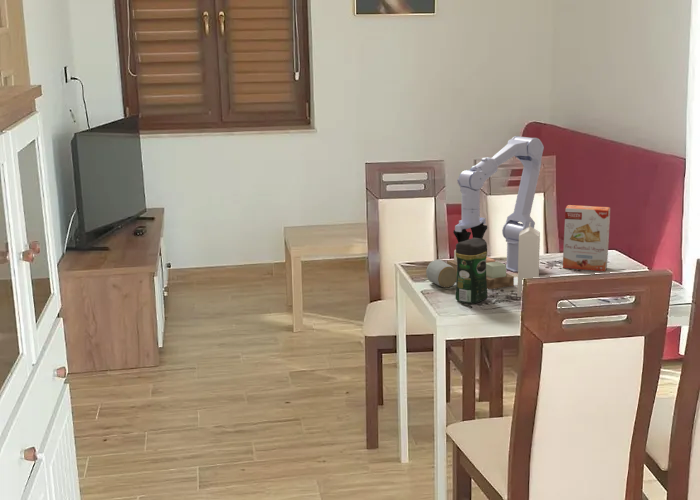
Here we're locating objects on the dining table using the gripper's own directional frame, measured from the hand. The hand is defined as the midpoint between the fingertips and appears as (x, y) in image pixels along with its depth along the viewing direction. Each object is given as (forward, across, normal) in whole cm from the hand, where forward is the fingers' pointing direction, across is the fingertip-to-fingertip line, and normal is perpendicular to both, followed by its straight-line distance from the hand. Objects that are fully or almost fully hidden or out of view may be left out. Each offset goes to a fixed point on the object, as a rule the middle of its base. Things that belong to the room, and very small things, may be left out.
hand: (470, 249), depth 275 cm
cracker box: (+10, -34, +23) cm, 42 cm away
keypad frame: (+10, -4, +1) cm, 10 cm away
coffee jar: (+10, +19, +13) cm, 25 cm away
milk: (+10, +4, +23) cm, 26 cm away
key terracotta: (+7, -2, +4) cm, 8 cm away
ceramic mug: (+10, +10, -3) cm, 14 cm away
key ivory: (+7, -8, -8) cm, 13 cm away
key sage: (+7, +1, +10) cm, 12 cm away
